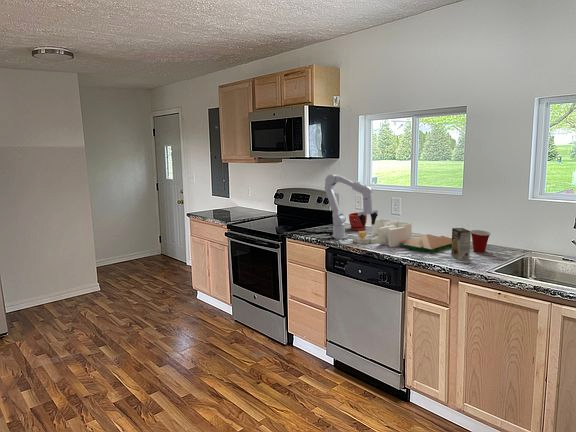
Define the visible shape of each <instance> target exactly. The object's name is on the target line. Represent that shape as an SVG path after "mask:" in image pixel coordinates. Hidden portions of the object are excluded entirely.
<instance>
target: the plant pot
mask: <svg viewBox="0 0 576 432" xmlns="http://www.w3.org/2000/svg"><path fill="white" fill-rule="evenodd" d="M358 213H359V212H352V213H349V214H348V221H349V224H350V229H351V230H352V231H365V229H367V226H366V224H367V218H368V216H367V215H368V214H367V215H364V216H366V217H365V226H362V223H361V220H360V218H359V217H358Z"/></svg>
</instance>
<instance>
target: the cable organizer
mask: <svg viewBox="0 0 576 432" xmlns="http://www.w3.org/2000/svg"><path fill="white" fill-rule="evenodd" d="M377 236H378V243H377V244H378V245H382V246H385V245H387V244H388V246H389V248H396V247H401V243H399V242H403V241H406V228H405V227H400V228H397V227H396V226H393V225H392V226H386V227H381V228H379V229H378V235H377ZM402 245H403V246H404V244H402Z"/></svg>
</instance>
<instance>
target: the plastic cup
mask: <svg viewBox="0 0 576 432" xmlns="http://www.w3.org/2000/svg"><path fill="white" fill-rule="evenodd" d="M470 231H471V240H472V247H473V252H474V253H476V252H478V253H477V254H482V253H486V249H487V245H488V241H489V238H490V235H491V232H489V231H486V230H480V229H472V230H470Z"/></svg>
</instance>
